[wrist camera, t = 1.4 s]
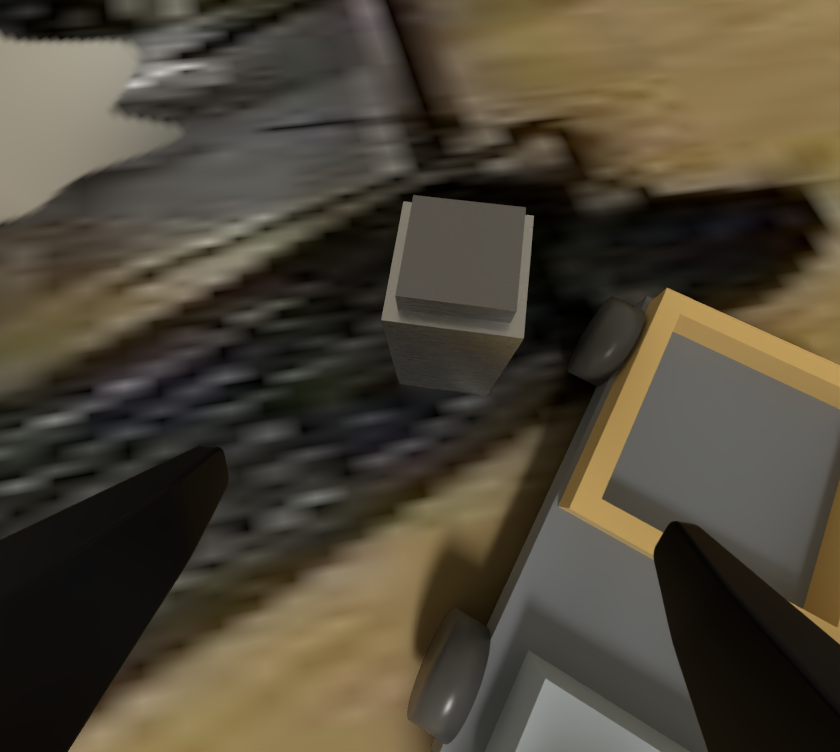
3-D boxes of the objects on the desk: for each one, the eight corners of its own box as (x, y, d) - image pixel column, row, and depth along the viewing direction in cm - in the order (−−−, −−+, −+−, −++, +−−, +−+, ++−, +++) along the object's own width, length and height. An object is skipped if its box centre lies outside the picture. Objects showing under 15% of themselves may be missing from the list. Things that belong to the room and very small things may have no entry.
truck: (722, 924, 16) (867, 1139, 11) (401, 704, 18) (390, 792, 13) (859, 432, 21) (1002, 414, 16) (594, 307, 24) (642, 255, 18)
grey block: (486, 395, 22) (530, 327, 13) (399, 383, 23) (377, 307, 13) (495, 315, 24) (541, 197, 14) (412, 304, 24) (402, 182, 14)
